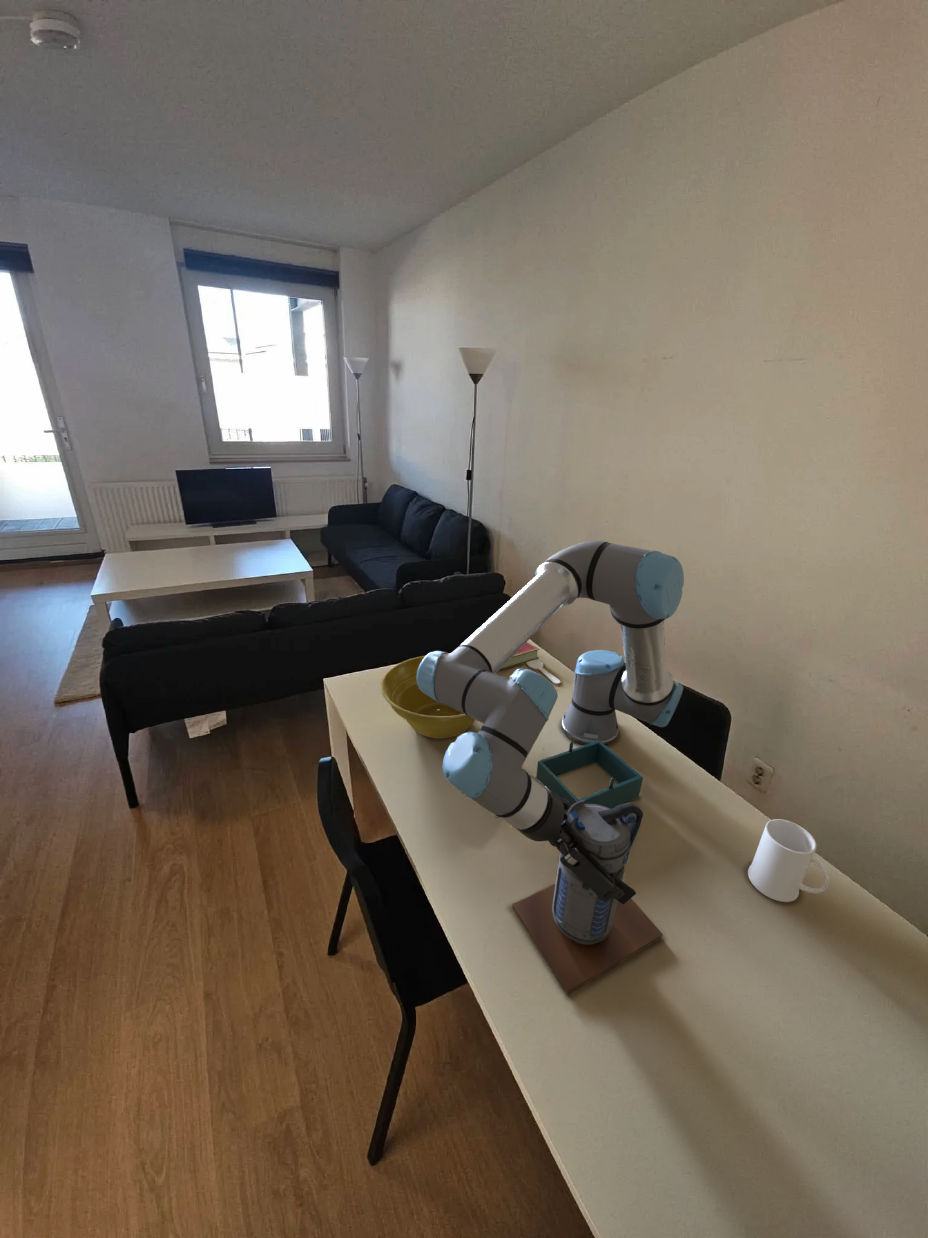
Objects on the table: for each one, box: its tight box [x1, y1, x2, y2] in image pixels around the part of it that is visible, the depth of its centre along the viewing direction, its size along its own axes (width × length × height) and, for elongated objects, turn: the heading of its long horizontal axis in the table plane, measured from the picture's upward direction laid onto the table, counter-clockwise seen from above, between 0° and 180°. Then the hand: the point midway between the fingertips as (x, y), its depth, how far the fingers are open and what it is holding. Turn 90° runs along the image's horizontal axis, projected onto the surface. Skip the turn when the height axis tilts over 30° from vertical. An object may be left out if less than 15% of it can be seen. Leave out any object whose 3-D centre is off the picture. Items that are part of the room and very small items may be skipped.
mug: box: [747, 818, 830, 903], centre depth 93 cm, size 12×8×12 cm
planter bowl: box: [380, 655, 476, 739], centre depth 138 cm, size 32×32×13 cm
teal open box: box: [535, 740, 644, 809], centre depth 117 cm, size 19×15×9 cm
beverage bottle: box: [552, 800, 644, 945], centre depth 82 cm, size 10×13×25 cm
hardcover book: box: [498, 641, 540, 672], centre depth 175 cm, size 12×21×4 cm, turn 123°
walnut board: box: [511, 883, 664, 996], centre depth 88 cm, size 20×16×1 cm
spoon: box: [525, 659, 561, 685], centre depth 169 cm, size 5×18×1 cm, turn 25°
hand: (611, 866), depth 83 cm, fingers open, 11 cm apart
